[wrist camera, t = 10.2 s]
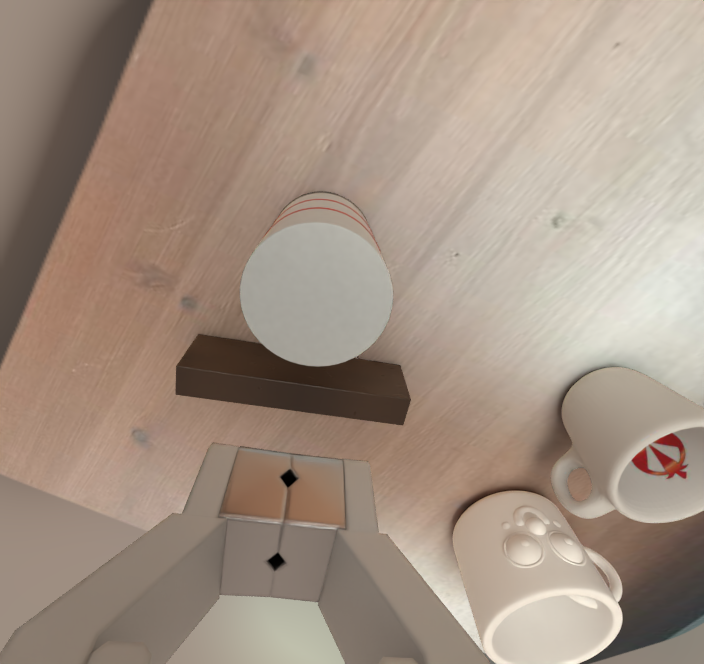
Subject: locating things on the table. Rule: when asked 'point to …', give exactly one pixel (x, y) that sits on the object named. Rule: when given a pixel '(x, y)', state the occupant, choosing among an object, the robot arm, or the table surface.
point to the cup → (632, 448)
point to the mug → (534, 582)
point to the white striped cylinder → (317, 283)
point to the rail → (291, 381)
